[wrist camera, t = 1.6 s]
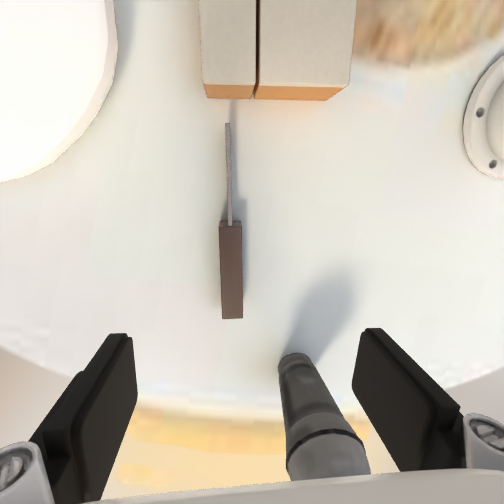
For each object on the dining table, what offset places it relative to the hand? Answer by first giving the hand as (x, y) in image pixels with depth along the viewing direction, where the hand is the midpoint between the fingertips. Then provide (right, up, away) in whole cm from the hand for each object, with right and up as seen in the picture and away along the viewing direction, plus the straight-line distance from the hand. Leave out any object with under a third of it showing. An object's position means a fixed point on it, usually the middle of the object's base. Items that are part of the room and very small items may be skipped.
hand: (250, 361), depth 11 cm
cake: (+4, +23, +13) cm, 26 cm away
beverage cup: (+6, -11, +24) cm, 27 cm away
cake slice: (-2, +23, +13) cm, 26 cm away
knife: (-2, +7, +18) cm, 19 cm away
